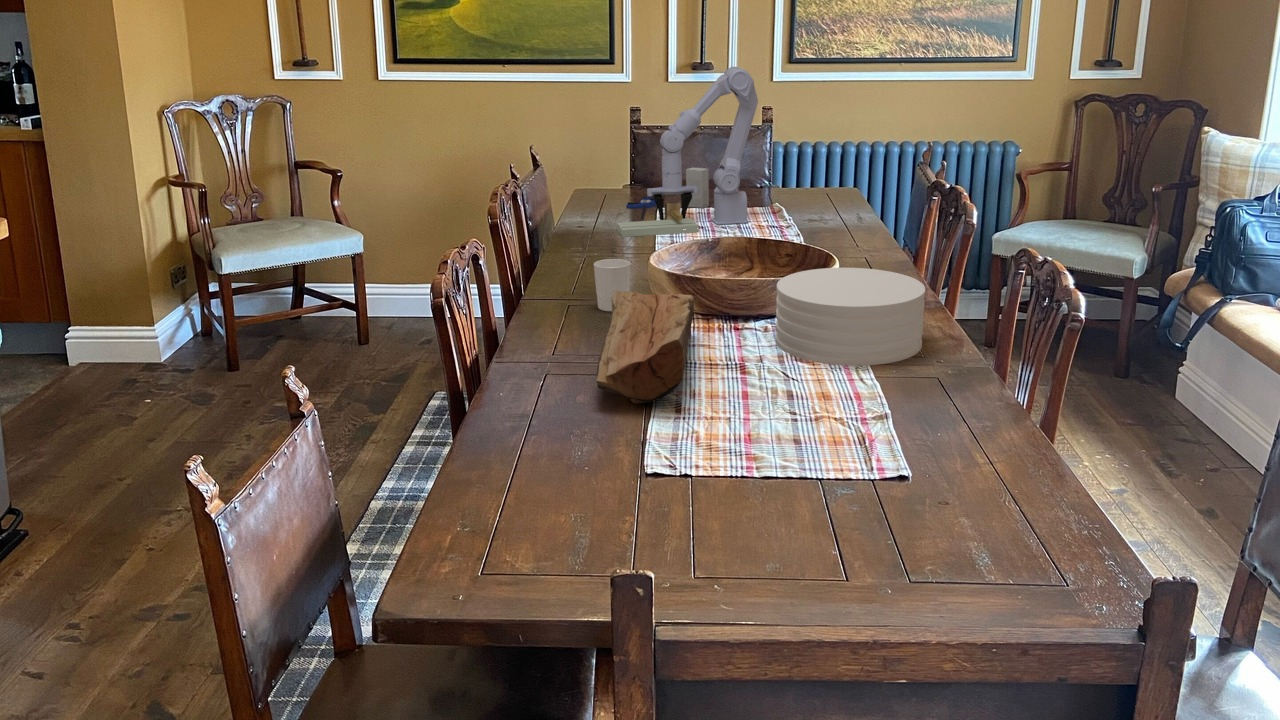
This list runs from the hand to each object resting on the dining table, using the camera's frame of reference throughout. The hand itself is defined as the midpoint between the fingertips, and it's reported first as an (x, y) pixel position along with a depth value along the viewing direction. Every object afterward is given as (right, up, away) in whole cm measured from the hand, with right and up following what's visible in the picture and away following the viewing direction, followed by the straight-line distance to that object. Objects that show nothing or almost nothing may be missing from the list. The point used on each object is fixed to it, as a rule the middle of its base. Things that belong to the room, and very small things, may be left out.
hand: (672, 219), depth 316 cm
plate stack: (+31, -38, -106) cm, 117 cm away
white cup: (-15, -30, -80) cm, 86 cm away
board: (-5, -4, -7) cm, 10 cm away
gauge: (+1, -3, -3) cm, 5 cm away
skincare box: (+9, +7, +25) cm, 27 cm away
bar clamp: (-9, +4, +18) cm, 21 cm away
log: (-8, -43, -118) cm, 126 cm away
